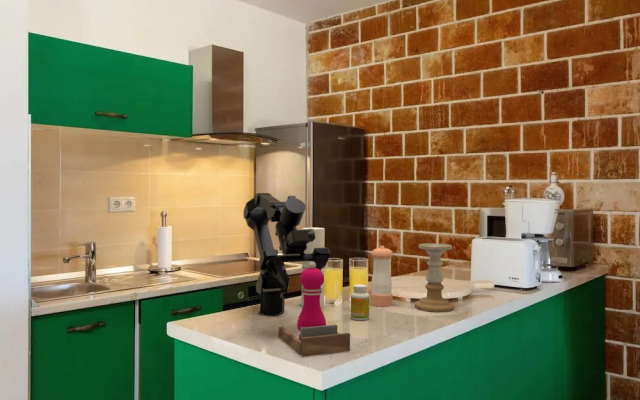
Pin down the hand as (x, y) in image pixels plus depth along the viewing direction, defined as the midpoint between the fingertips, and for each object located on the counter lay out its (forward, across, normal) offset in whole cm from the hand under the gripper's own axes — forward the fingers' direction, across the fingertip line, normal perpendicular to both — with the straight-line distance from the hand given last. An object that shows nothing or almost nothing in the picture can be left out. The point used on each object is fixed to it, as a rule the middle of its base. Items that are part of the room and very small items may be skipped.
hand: (302, 284), depth 141 cm
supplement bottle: (+2, +22, +17) cm, 28 cm away
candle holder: (-1, +51, +20) cm, 55 cm away
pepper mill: (+14, 0, +5) cm, 15 cm away
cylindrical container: (-12, +15, +31) cm, 37 cm away
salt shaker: (-9, +37, +28) cm, 47 cm away
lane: (+14, 0, +5) cm, 15 cm away
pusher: (+17, 0, +1) cm, 17 cm away
